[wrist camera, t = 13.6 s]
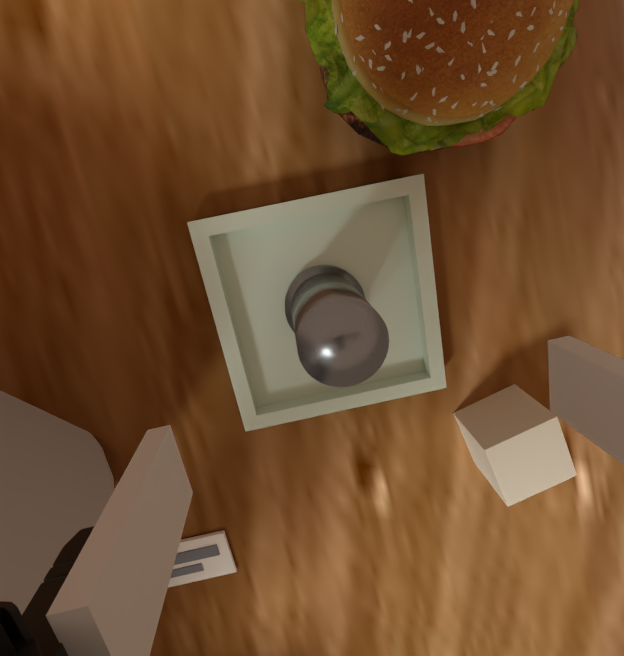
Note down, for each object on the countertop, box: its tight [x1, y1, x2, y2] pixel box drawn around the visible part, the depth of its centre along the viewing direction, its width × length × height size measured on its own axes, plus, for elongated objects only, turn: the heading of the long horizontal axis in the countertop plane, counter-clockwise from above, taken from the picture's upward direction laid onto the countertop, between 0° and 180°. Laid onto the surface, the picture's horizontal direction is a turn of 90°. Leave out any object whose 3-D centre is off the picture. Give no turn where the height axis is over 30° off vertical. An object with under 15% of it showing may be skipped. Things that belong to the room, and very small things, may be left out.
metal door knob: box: [285, 265, 389, 387], centre depth 24 cm, size 5×5×8 cm
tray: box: [187, 174, 447, 432], centre depth 27 cm, size 14×14×2 cm
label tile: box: [168, 530, 237, 588], centre depth 33 cm, size 6×4×1 cm, turn 101°
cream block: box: [453, 384, 577, 506], centre depth 30 cm, size 5×5×5 cm
